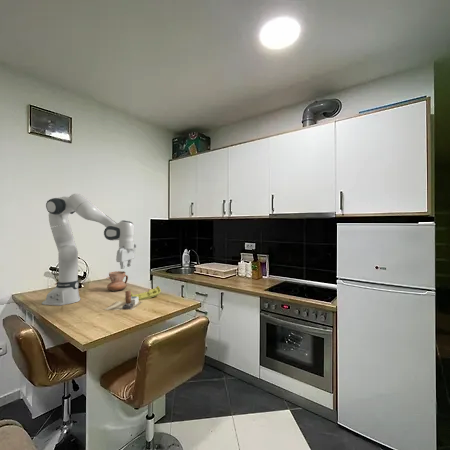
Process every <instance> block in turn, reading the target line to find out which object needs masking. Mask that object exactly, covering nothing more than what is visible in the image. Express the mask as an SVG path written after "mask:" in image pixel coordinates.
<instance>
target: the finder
mask: <svg viewBox="0 0 450 450" xmlns="http://www.w3.org/2000/svg"><path fill="white" fill-rule="evenodd" d="M138 302H140V300H139V297H137V296H132V297H131V303H130V304H133V305H136V304H137V303H138Z"/></svg>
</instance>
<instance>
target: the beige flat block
mask: <svg viewBox="0 0 450 450" xmlns="http://www.w3.org/2000/svg"><path fill="white" fill-rule="evenodd" d="M142 303H143V301H139V302H138V303H137V304H136V305H133V304H130V306H126V303H125V301H115V302H113V303H112V304H110V305H109V306H107V307H106V308H104V309H103V310H104V311H105V310H106V311H109V310H110V311H113V310H114V311H117V310H118V311H134V310H135V309H137V308H138V306H140V305H141V304H142Z"/></svg>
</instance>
